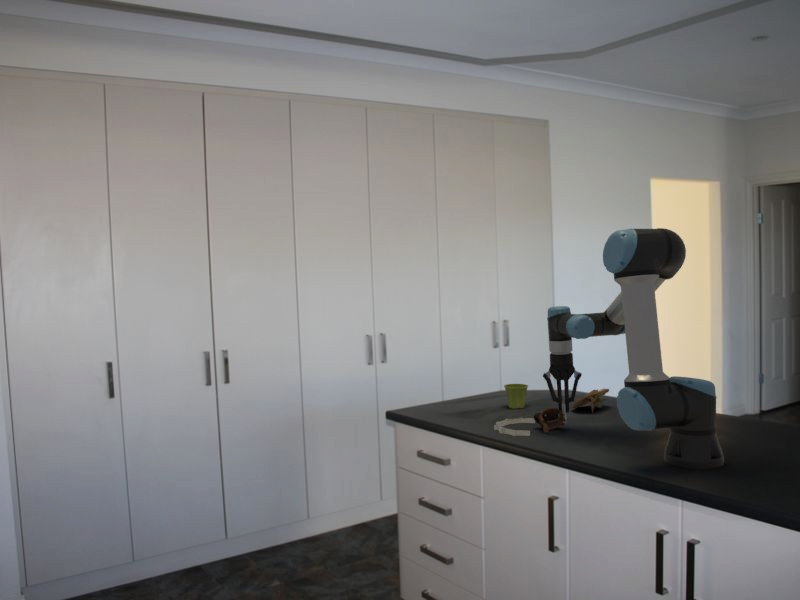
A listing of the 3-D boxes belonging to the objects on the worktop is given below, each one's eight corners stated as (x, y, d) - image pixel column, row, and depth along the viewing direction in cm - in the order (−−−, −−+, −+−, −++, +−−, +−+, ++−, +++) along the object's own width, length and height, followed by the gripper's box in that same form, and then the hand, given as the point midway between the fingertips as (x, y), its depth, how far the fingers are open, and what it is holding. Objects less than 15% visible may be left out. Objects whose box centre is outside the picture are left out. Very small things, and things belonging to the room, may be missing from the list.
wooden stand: (584, 420, 262) (577, 401, 265) (619, 408, 256) (611, 389, 259) (570, 419, 247) (562, 399, 250) (607, 405, 241) (599, 385, 244)
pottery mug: (573, 425, 227) (568, 407, 223) (561, 445, 221) (557, 426, 217) (541, 419, 234) (536, 401, 230) (529, 437, 228) (523, 419, 224)
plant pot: (511, 404, 271) (510, 382, 270) (532, 406, 265) (532, 384, 265) (500, 408, 263) (499, 386, 263) (522, 410, 258) (521, 388, 257)
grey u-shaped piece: (529, 436, 219) (529, 432, 219) (490, 435, 223) (490, 430, 223) (535, 421, 239) (535, 417, 239) (499, 420, 243) (499, 416, 242)
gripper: (581, 350, 227) (584, 419, 228) (542, 351, 231) (546, 419, 232) (580, 353, 220) (583, 425, 221) (540, 354, 223) (544, 424, 225)
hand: (564, 422), depth 227 cm, fingers closed
